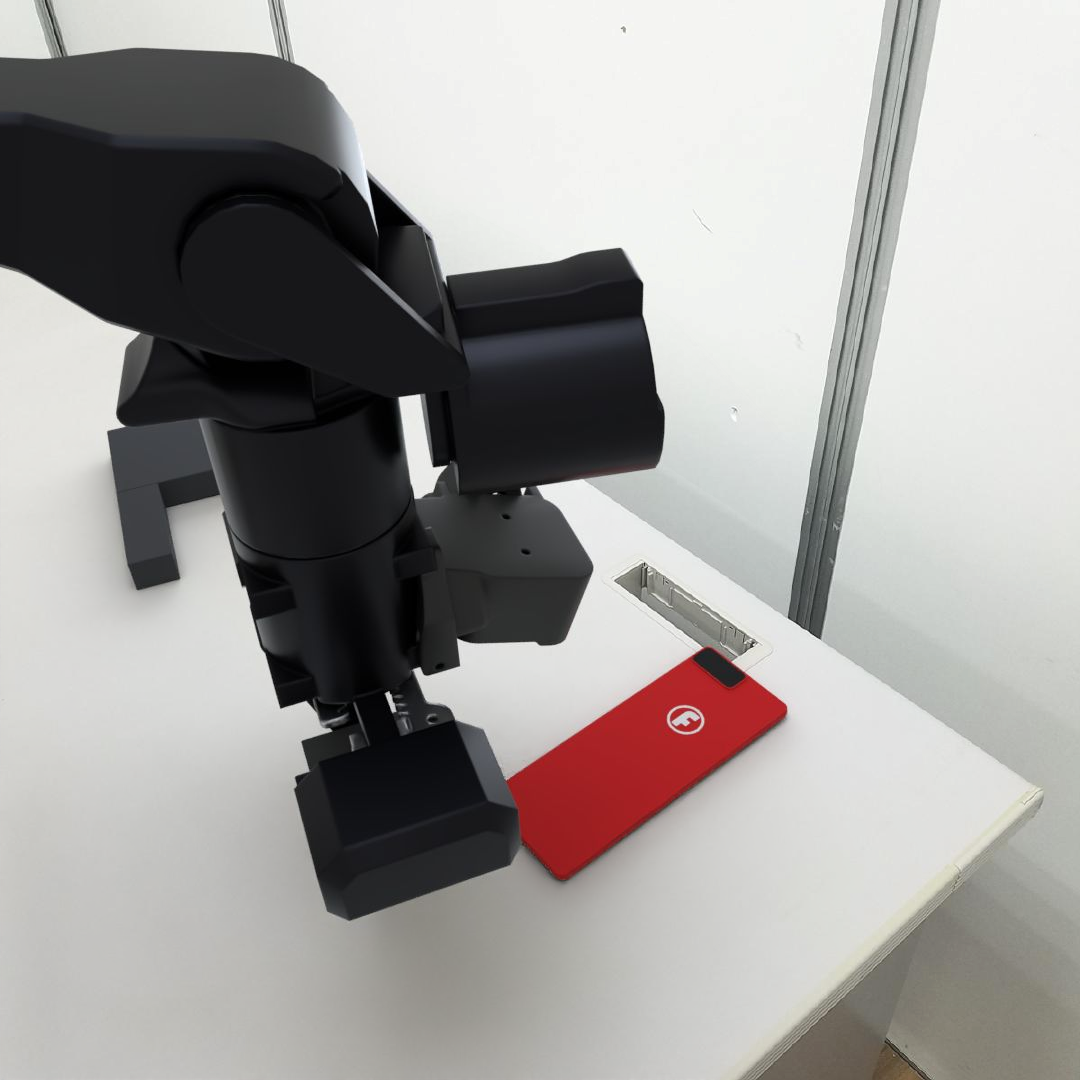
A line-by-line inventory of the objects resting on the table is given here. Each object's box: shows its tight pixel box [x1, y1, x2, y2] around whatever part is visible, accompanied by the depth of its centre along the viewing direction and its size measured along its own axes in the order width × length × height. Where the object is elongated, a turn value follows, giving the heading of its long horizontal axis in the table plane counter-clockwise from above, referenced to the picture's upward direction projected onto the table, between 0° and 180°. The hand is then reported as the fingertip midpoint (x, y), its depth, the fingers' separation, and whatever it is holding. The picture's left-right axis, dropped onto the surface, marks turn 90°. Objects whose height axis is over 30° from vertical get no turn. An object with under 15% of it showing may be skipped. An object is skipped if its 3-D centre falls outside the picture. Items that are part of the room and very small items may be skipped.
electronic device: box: [505, 646, 788, 881], centre depth 56 cm, size 6×1×15 cm
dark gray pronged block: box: [106, 419, 220, 590], centre depth 72 cm, size 12×14×2 cm
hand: (382, 798), depth 46 cm, fingers closed on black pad, 5 cm apart
